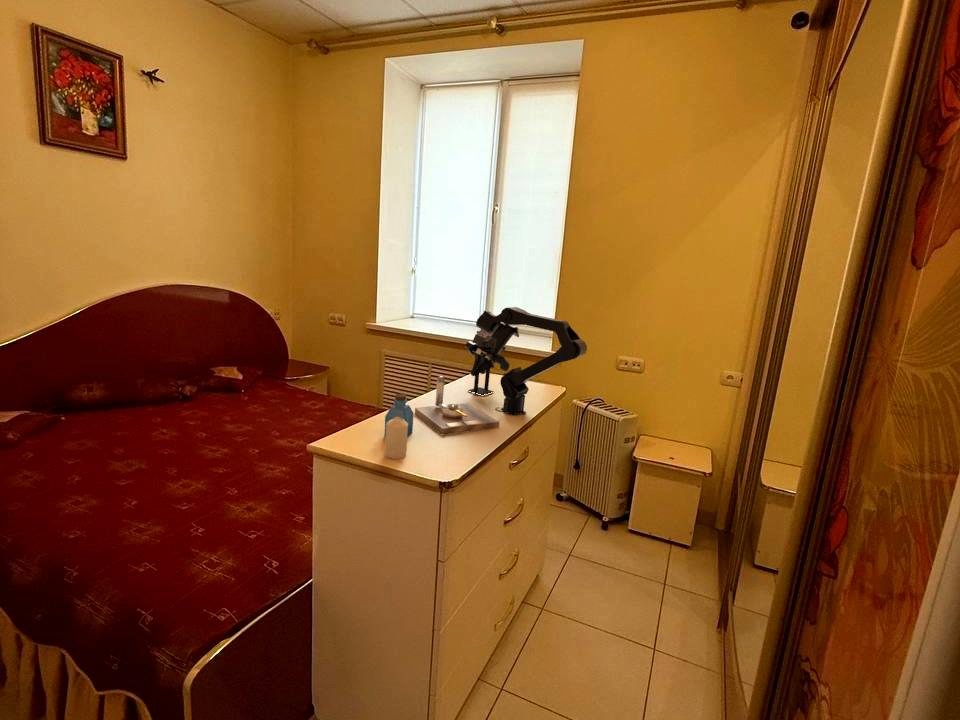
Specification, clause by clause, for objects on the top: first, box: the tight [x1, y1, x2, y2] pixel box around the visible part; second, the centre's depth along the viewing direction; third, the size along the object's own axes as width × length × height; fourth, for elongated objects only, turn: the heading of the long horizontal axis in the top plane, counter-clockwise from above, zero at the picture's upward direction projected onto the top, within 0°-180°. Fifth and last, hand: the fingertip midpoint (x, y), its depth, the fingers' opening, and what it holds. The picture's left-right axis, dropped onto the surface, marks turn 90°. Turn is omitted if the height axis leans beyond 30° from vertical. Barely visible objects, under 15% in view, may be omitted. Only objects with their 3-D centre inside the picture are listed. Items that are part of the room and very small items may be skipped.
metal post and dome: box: [434, 375, 467, 418], centre depth 156 cm, size 6×18×10 cm, turn 33°
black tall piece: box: [467, 329, 495, 395], centre depth 190 cm, size 10×8×30 cm
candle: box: [384, 417, 408, 460], centre depth 128 cm, size 6×6×10 cm
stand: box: [414, 402, 500, 436], centre depth 159 cm, size 20×20×2 cm
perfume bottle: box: [383, 393, 415, 439], centre depth 141 cm, size 6×6×12 cm
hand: (471, 375), depth 167 cm, fingers closed
